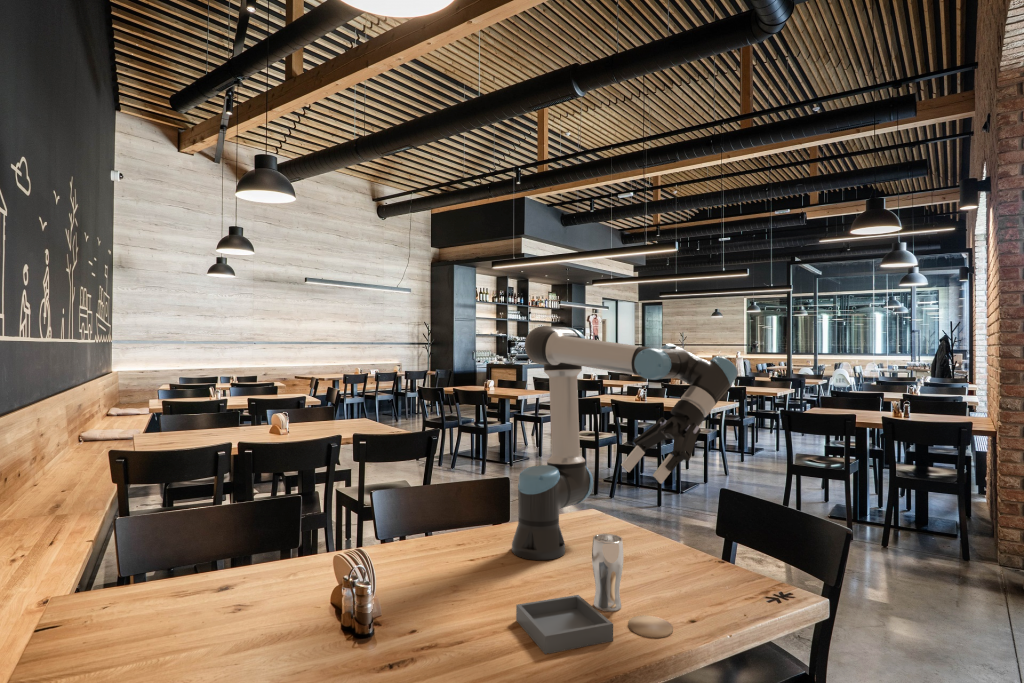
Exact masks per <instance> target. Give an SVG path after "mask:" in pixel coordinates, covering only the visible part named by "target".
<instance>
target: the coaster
mask: <svg viewBox="0 0 1024 683" xmlns="http://www.w3.org/2000/svg"><path fill="white" fill-rule="evenodd" d="M627 627H628V629H629V630H630V631H631V632H632V633H634V634H636V635H638V636H642V637H645V638H653V639H661V638H666V637H669V636H671V635H672V634H673V632H674V626H673V625H672V623H671V622H669V621H668V620H666V619H664V618H662V617H658V616H655V615H644V614H643V615H636V616H633V617H631V618H630V619H628V621H627Z"/></svg>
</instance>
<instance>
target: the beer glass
mask: <svg viewBox="0 0 1024 683" xmlns="http://www.w3.org/2000/svg"><path fill="white" fill-rule="evenodd" d="M623 541H624V540H623V537H621V536H620V535H618V534H614V533H599V534H595V535H593V537H592V546H591V547H592V548H591V564H592V571H593V577H594V578H593V579H594V583H595V584H594V586H595V593H594V598H593V607H594V608H595V609H596V610H598V611H599V610H600V611H603V612H617V611H620V610H621V608H622V600H621V595H620V587H621V580H622V576H623V575H622V574H623V568H624V543H623Z"/></svg>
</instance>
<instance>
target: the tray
mask: <svg viewBox="0 0 1024 683" xmlns="http://www.w3.org/2000/svg"><path fill="white" fill-rule="evenodd" d="M515 609H516V610H515V611H516V613H515V614H516V615H515V621H516V622H517V623H518V624H519V626H520V627H521V628H522V629H523V631H525V633H526V634H527V635H528V636H529V637H530V638H531V639H532V641H533V642H534V643H535V644H536V645H537V647H538V648H539V649H540V650H541V651H542V653H544V655H548V654H547V653H549V654H553V653H558V652H564V651H568V650H573V649H579V648H584V647H589V646H595V645H599V644H604V643H609V642H613V641H614V623H613V622H612V621H610V619H608V618H607V617H606V616H605V615H603V614H602V613H601V612H600V611H599V610H598V609H597V608H596V607H595V606H593V605H591V603H589V602H588V601H586V599H584V598H583V597H582V596H580V595H579V594H575V595H568V596H564V597H563V596H562V597H555V598H549V599H543V600H538V601H537V600H536V601H530V602H525V603H519V604H516V606H515Z"/></svg>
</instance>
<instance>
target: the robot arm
mask: <svg viewBox="0 0 1024 683" xmlns="http://www.w3.org/2000/svg"><path fill="white" fill-rule="evenodd" d="M524 350H525V353H526V356H527V357H528V358H529V359H530V361H532V362H534V363H535V364H537V365H541V366H543V372H544V373H545V374H546V375H547V376H548V380H549V381H548V382H549V404H550V405H549V407H550V408H549V410H550V411H549V412H550V413H549V414H550V437H551V440H550V441H551V455H550V457H549V458H548V459H547V461H546V463H547V464H544V465H542V464H540V465H537V466H536V465H533V466H528V467H526V468H523V470H522V471H521V472H520V473H519V475H518V484H517V489H518V490H517V491H518V492H517V493H518V496H517V497H518V502H517V503H518V506H517V508H518V518H517V519H518V520H517V526H516V529H515V532H514V536H513V540H512V542H511V552H512V554H513V553H514V554H513V555H514V556H516V555H517V557H519V558H521V557H522V559H525V560H533V561H548V560H554V559H558V558H560V557H562V556H564V555H565V553H566V543H565V540H564V536H563V533H562V530H561V527H560V510H562V509H563V508H567V507H569V506H570V507H571V506H576V505H578V504H580V503H582V502H584V501H585V500H587V499H588V498H589V496H590V495H591V494H592V491H593V488H594V476H593V474H592V472H591V471H590V468H588V466H587V465H586V459H585V458H584V457H583V456H582V454H581V448H580V447H581V445H580V422H579V421H580V420H579V392H578V391H579V390H578V375H579V374H580V373H581V372H582V370H583V367H585V368H592V369H596V370H597V369H598V370H602V371H607V372H615V373H620V374H625V375H626V374H627V375H633V376H639V377H641V378H643V379H645V380H653V381H657V380H663V379H664V380H665V379H666V380H667V379H669V380H670V379H679V380H681V381H682V382H684V383H686V384H687V385H690V386H689V387H688V388H687V390H685V392H684V393H683V394H682V395H681V397H680V400H677V402H676V403H675V405H674V406H673V407H672V408H671V410H670V414H671V417H670V418H669V419H668V420H666V419H665V418H664V417H660V418H659V419H658V420H657V421H656V423H654V424H653V425H651V427H649V428H648V429H646V430H645V431H644V432H643V433H642V434H640V435H638V436H637V437H636V438H635V439H634V440H633V441H632V442H633V443H634V445H635V446H634V448H633V449H632V450H631V451H630V453H629V454H628V456H627V457H626V458H625V460H623V461H622V463H621V464H620V465H621V466H622V468H623V469H624V470H625V471H626V472H628V473H631V471H632V470H633V469H634V468H635V466H637V464H638V462H639V461H640V460H641V459H642V458H643V456H644V455H645V454H646V451H647V450H648V449H650V448H652V447H653V446H655V445H657V444H658V443H660V442H662V441H667V440H673V446H672V447H673V448H672V451H670V453H668V455H667V456H666V458H665V459H663V461H662V463H661V464H660V465H659V467H658V468H657V469H656V470H655V472H654V473H653V474H652V476H653V478H654V479H655V480H656V481H657V482H658V483H659V484H661V485H662V484H664V482H665V480H666V479H667V478H668V476H669V475H670V473H672V472H673V471H674V470H675V468H676V467H677V466H678V464H679V463H681V462H683V461H686V462H689V461H690V459H691V458H692V454H693V451H694V447H695V444H696V442H697V438H698V436H699V435H700V433H701V432H702V429H701V428H700V425H701V424H702V423H703V422H704V421H705V418H707V416H709V414H710V413H711V411H712V410H713V409H714V407H715V406H716V405H717V403H718V402H719V401H720V400H721V399H722V397H723V396H724V395H725V394H726V392H728V390H729V389H730V388H731V387H732V385H733V383H734V382H735V380H736V379H737V377H738V374H739V372H738V369H737V368H738V367H736V365H735V363H733V362H732V361H730V359H728V358H727V357H724V356H718V355H717V356H714V357H713V358H711V359H710V360H707V359H704V358H702V357H700V356H697V355H696V354H694V353H692V352H690V351H688V350H686V349H684V348H682V347H681V346H677V345H675V344H673V343H666V344H664V345H663V346H662V347H661V348H659V347H649V346H641V345H635V344H627V343H619V342H611V341H605V340H597V339H591V338H590V339H589V338H586V336H584V334H583V333H581V331H580V330H577V329H576V328H572V327H568V326H567V327H566V326H550V325H541V326H540V325H539V326H537V327H535V328H533V329H532V330H530V332H529V333H528V334H527V336H526V338H525V342H524Z"/></svg>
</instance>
